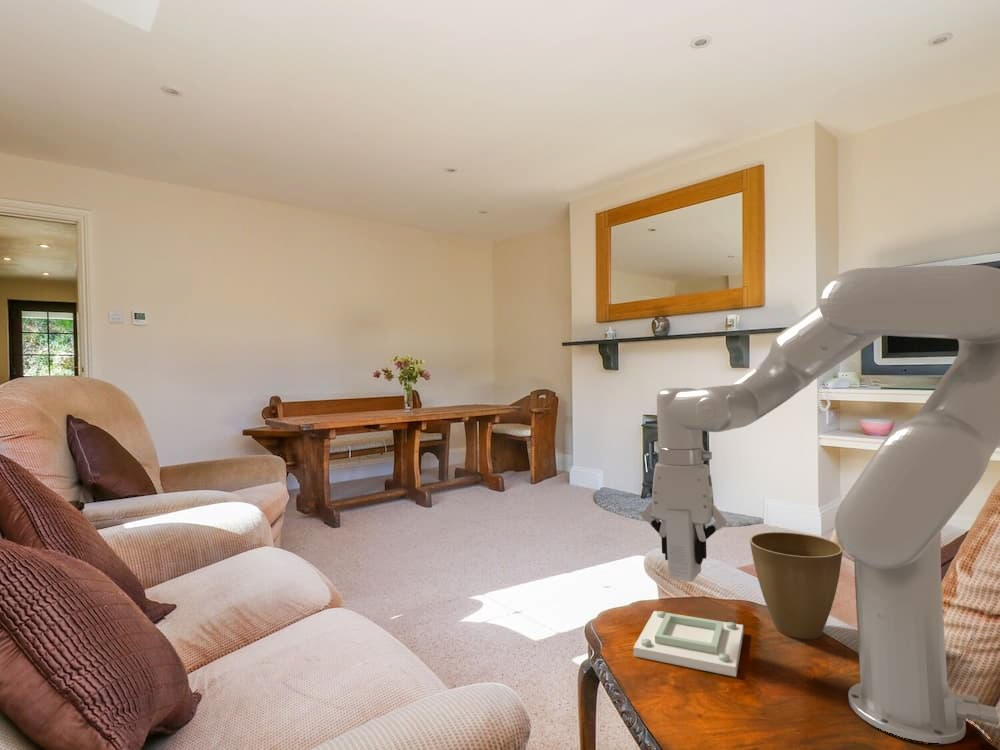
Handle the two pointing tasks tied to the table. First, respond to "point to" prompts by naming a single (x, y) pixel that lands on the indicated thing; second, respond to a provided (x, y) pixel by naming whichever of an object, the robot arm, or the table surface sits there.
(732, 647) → the baseplate
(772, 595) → the plant pot
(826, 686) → the table surface
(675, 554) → the skincare box
